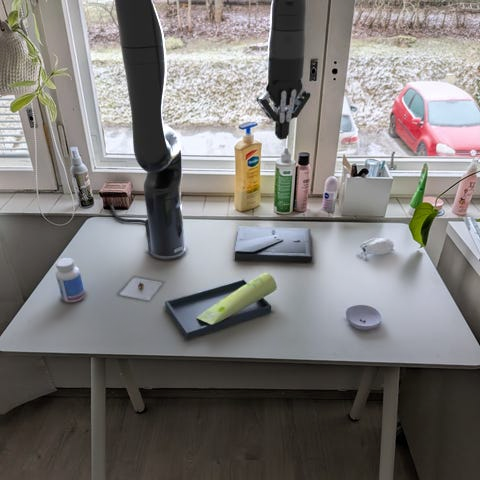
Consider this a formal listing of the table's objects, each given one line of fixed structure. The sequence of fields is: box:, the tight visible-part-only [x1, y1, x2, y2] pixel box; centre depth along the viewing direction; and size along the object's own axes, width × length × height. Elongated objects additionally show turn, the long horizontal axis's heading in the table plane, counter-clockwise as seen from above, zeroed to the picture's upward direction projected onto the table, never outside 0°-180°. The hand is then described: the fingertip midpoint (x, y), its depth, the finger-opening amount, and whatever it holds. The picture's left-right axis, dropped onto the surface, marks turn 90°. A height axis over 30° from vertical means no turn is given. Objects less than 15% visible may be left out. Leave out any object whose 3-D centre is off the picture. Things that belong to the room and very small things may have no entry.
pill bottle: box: [55, 257, 86, 303], centre depth 119 cm, size 6×5×10 cm
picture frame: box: [234, 225, 313, 264], centre depth 140 cm, size 16×3×21 cm
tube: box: [197, 272, 278, 325], centre depth 115 cm, size 6×5×20 cm
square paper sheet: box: [118, 277, 163, 301], centre depth 124 cm, size 8×8×2 cm
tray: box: [164, 277, 272, 340], centre depth 117 cm, size 21×13×2 cm, turn 118°
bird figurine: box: [358, 237, 396, 261], centre depth 136 cm, size 5×7×10 cm
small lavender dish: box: [345, 304, 383, 331], centre depth 114 cm, size 8×8×2 cm
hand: (281, 138), depth 114 cm, fingers closed
